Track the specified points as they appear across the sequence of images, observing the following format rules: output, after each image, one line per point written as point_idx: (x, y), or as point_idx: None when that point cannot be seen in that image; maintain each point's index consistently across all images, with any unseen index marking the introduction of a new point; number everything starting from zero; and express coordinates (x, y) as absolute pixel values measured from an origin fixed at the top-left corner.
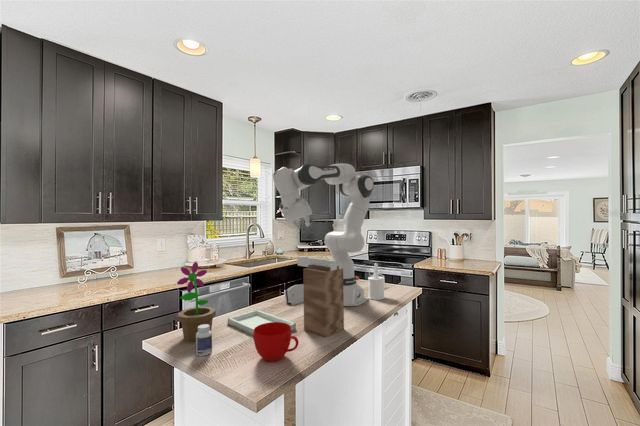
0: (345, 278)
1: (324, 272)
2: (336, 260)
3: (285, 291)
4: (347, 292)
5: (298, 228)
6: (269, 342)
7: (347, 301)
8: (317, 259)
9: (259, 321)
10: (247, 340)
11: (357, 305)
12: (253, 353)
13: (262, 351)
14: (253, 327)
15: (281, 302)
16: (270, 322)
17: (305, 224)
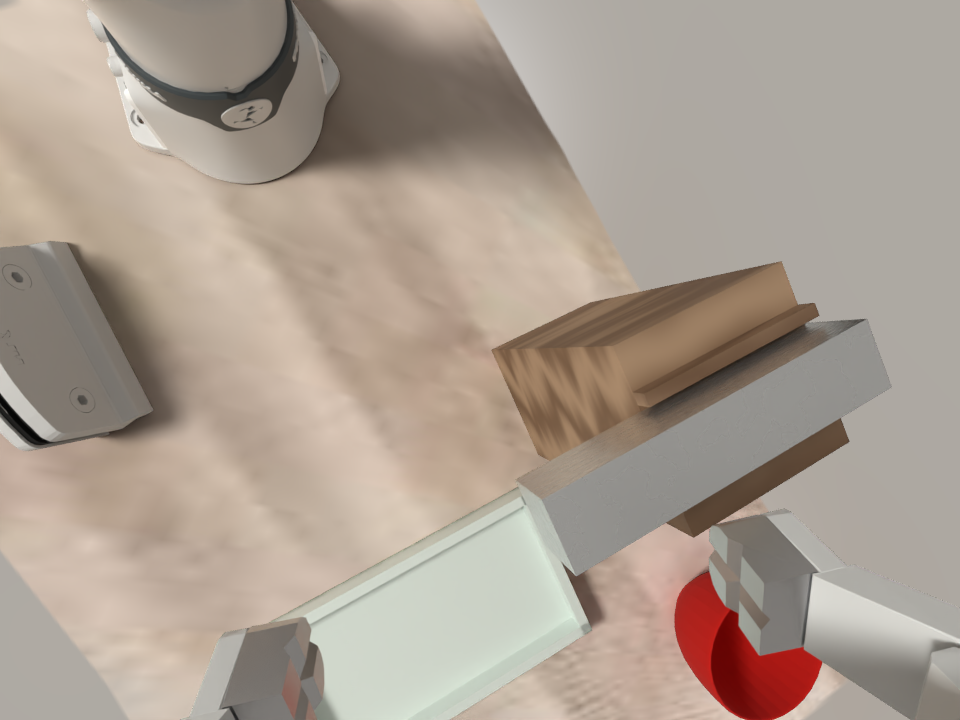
0: (282, 43)
1: (846, 437)
2: (865, 324)
3: (35, 448)
4: (302, 86)
5: (320, 669)
6: (801, 658)
7: (314, 116)
8: (785, 450)
9: (380, 628)
10: (550, 681)
11: (339, 77)
12: (655, 663)
13: (760, 661)
14: (446, 658)
15: (58, 460)
16: (710, 655)
17: (751, 629)
